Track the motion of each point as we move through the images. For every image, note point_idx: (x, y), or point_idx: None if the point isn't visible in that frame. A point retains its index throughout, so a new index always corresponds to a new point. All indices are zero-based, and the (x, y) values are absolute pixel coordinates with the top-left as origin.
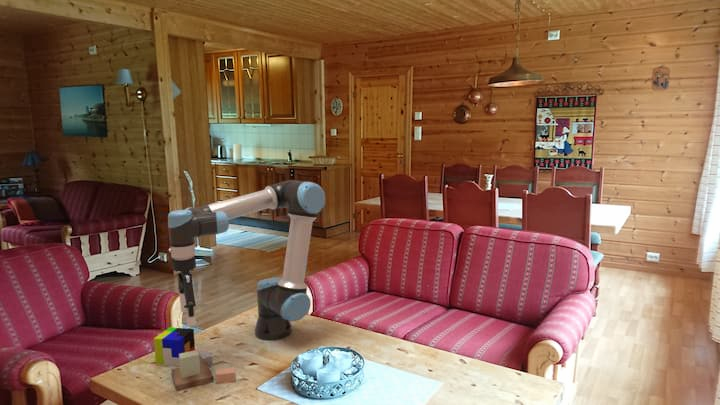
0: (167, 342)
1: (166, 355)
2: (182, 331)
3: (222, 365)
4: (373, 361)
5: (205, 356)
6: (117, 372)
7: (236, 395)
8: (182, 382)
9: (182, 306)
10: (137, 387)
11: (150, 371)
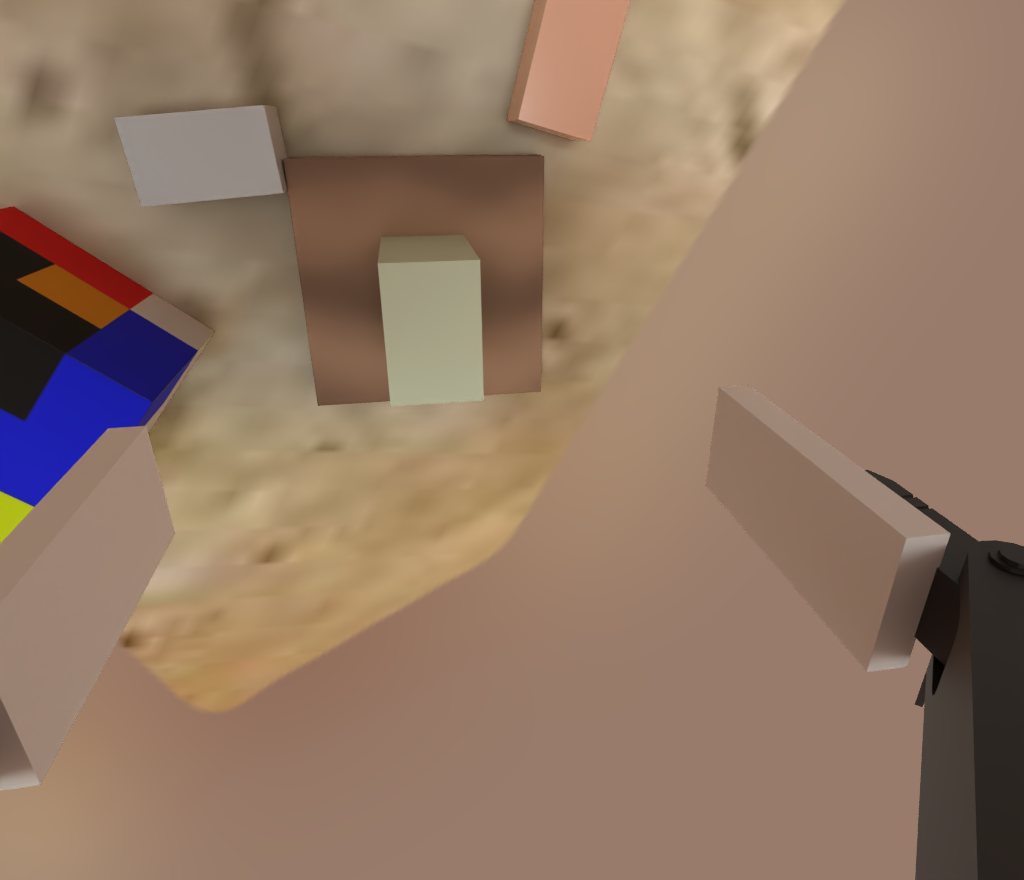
0: None
1: None
2: None
3: (317, 34)
4: None
5: (246, 162)
6: (169, 647)
7: (776, 48)
8: (523, 354)
9: (139, 568)
10: (392, 552)
11: (221, 499)
